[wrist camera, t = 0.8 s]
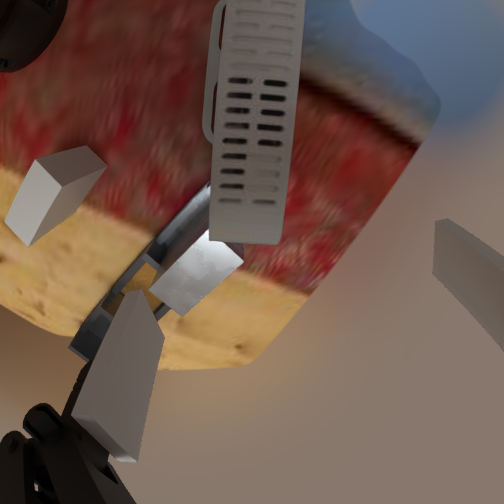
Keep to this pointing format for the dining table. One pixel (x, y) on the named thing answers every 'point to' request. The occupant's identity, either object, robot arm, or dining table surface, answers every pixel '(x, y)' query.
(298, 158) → the dining table surface
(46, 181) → the block
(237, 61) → the network device
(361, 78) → the dining table surface
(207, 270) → the rack
